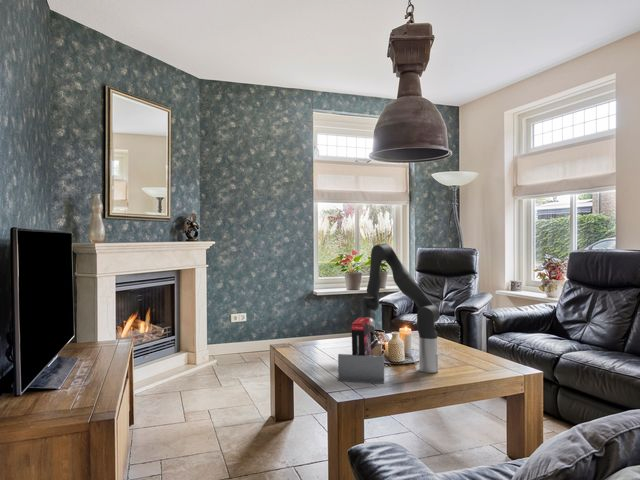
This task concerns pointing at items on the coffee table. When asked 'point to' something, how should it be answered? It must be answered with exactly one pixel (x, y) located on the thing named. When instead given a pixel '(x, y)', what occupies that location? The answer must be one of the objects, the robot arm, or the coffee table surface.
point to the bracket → (361, 368)
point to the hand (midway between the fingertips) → (365, 355)
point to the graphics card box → (361, 337)
